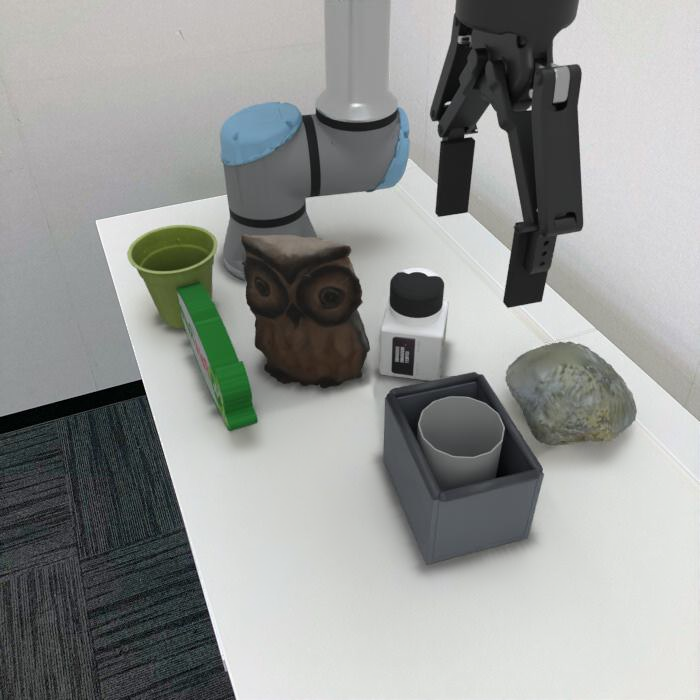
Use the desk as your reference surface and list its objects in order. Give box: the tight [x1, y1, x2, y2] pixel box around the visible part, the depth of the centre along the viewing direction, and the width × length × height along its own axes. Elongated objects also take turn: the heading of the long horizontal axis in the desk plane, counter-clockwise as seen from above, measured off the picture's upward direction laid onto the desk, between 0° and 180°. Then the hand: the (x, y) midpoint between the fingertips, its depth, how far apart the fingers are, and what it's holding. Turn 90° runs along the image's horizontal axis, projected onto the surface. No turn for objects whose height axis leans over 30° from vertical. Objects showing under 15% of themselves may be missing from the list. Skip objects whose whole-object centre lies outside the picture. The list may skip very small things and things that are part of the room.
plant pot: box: [126, 224, 219, 329], centre depth 97 cm, size 12×12×11 cm
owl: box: [241, 233, 371, 390], centre depth 86 cm, size 13×13×20 cm
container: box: [378, 267, 450, 382], centre depth 89 cm, size 8×8×13 cm
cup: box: [417, 396, 505, 491], centre depth 72 cm, size 8×8×10 cm
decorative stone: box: [505, 340, 638, 447], centre depth 82 cm, size 14×15×10 cm
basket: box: [382, 371, 545, 565], centre depth 72 cm, size 15×11×11 cm
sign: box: [176, 282, 259, 433], centre depth 88 cm, size 26×3×10 cm, turn 24°
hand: (483, 253), depth 56 cm, fingers open, 13 cm apart
